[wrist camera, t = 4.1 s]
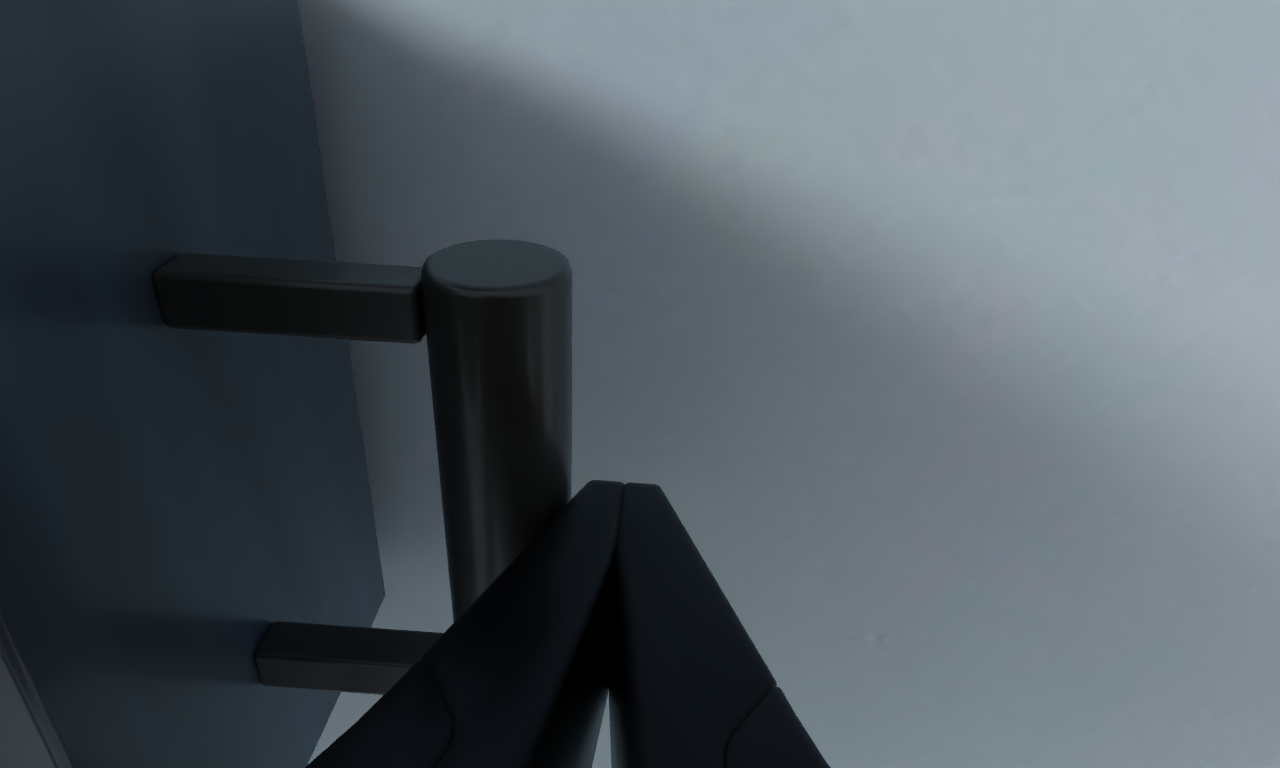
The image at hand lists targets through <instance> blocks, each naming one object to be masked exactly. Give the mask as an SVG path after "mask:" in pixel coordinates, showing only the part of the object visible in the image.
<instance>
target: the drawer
mask: <svg viewBox="0 0 1280 768" xmlns="http://www.w3.org/2000/svg"><path fill="white" fill-rule="evenodd" d="M425 334H426V336H427V346H428V357H429V368H430V378H431V389H432V399H433V410H434V421H435V431H436V442H437V452H438V463H439V473H440V484H441V495H442V505H443V516H444V526H445V537H446V548H447V558H448V569H449V579H450V590H451V600H452V611H453V622H455V621H456V620H457V619H458V618H459V617H460V616H461V615H462V614H463V613H464V612H465V611H466V610H467V609H468V608H469V607H470V606H471V604H472V603H473V602H474V601H475V600H476V599H477V598H478V597H479V596H480V595H481V594H482V593H483V592H484V591H485V590H486V589H487V588H488V587H489V586H490V585H491V584H492V582H493V581H494V580H495V579H496V578H497V577H498V576H499V575H500V574H501V573H502V572H503V571H504V570H505V569H506V568H507V567H508V566H509V565H510V564H511V563H512V562H513V561H514V559H515V558H516V557H517V556H518V555H519V554H520V553H521V552H522V551H523V550H524V549H525V548H526V547H527V546H528V545H529V544H530V543H531V542H532V541H533V540H534V539H535V537H536V536H537V535H538V534H539V533H540V532H541V531H542V530H543V529H544V528H545V527H546V526H547V525H548V524H549V523H550V522H551V521H552V520H553V519H554V518H555V517H556V515H557V514H558V513H559V512H560V511H561V510H562V509H563V508H564V507H565V506H566V505H567V504H568V503H569V502H570V501H571V463H572V268H571V266H570V264H569V262H568V260H567V258H566V257H565V256H564V255H563V254H561V253H560V252H558V251H556V250H554V249H552V248H550V247H547V246H543V245H540V244H535V243H530V242H525V241H518V240H502V239H501V240H479V241H472V242H466V243H461V244H457V245H453V246H450V247H447V248H444V249H442V250H439V251H437V252H435V253H433V254H432V255H431V256H429V257H428V258H427V259H426V261H425V262H424V264H423V267H408V266H392V265H375V264H359V263H343V262H336V259H335V252H334V246H333V239H332V232H331V225H330V219H329V212H328V205H327V198H326V192H325V185H324V178H323V171H322V165H321V158H320V151H319V144H318V138H317V131H316V124H315V118H314V111H313V104H312V97H311V91H310V84H309V77H308V70H307V64H306V57H305V50H304V43H303V37H302V30H301V23H300V16H299V10H298V3H297V0H0V768H305V767H306V766H307V764H308V762H309V760H310V758H311V756H312V754H313V751H314V749H315V747H316V745H317V743H318V740H319V738H320V736H321V734H322V732H323V730H324V727H325V725H326V723H327V721H328V719H329V717H330V714H331V712H332V710H333V708H334V706H335V703H336V701H337V699H338V697H339V695H340V693H341V692H352V693H365V694H379V695H384V694H385V693H387V692H388V691H389V690H390V689H391V688H392V687H393V686H394V685H395V684H396V683H397V682H398V680H399V679H400V678H401V677H402V676H403V675H404V674H405V673H406V672H407V671H408V670H409V669H410V668H411V667H412V666H413V665H414V664H415V663H416V662H417V661H418V660H423V659H422V657H423V655H424V654H425V653H426V652H427V651H428V650H429V648H430V647H431V646H432V645H433V644H434V643H435V642H436V641H437V640H438V639H439V638H440V637H441V636H442V635H443V634H444V633H435V632H421V631H408V630H394V629H380V628H370V627H371V625H372V623H373V621H374V619H375V616H376V614H377V612H378V610H379V608H380V606H381V603H382V601H383V599H384V597H385V590H384V583H383V576H382V569H381V563H380V556H379V549H378V542H377V536H376V529H375V522H374V515H373V509H372V502H371V495H370V488H369V482H368V475H367V468H366V461H365V455H364V448H363V441H362V434H361V428H360V421H359V414H358V407H357V401H356V394H355V387H354V381H353V374H352V367H351V360H350V354H349V347H348V340H347V339H350V340H366V341H381V342H397V343H412V344H414V343H418V342H421V340H422V339H423V337H424V336H425Z"/></svg>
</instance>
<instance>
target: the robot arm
mask: <svg viewBox="0 0 1280 768" xmlns="http://www.w3.org/2000/svg"><path fill="white" fill-rule="evenodd" d="M422 659H423V660H418V661H417V662H416V663H415V664H414V665H413V666H412V667H411V668H410V669H409V670H408V671H407V672H406V673H405V674H404V675H403V676H402V677H401V678H400V679H399V680H398V682H397V683H396V684H395V685H394V686H393V687H392V688H391V689H390V690H389V691H388V692H387V693H385V694H384V695H383V696H382V697H381V698H380V699H379V700H378V701H377V702H376V703H375V704H374V705H373V706H372V707H371V708H370V709H369V710H368V711H367V712H366V713H365V714H364V715H363V716H362V717H361V718H360V719H359V720H358V721H357V722H356V723H355V724H354V725H353V726H351V727H350V728H349V729H348V730H347V731H346V732H345V733H344V734H342V735H341V736H340V737H339V738H338V739H337V740H336V741H335V742H333V743H332V744H331V745H330V746H329V747H328V748H327V749H326V750H324V751H323V752H322V753H321V754H320V755H319V756H318V757H317V758H315V759H314V760H313V761H312V762H311V763H310V764H309V765H307V766H306V767H305V768H592V763H593V759H594V754H595V750H596V745H597V741H598V736H599V732H600V727H601V723H602V718H603V714H604V709H605V705H606V700H607V695H608V690H609V710H610V737H611V765H612V768H830V766H829V765H828V764H827V762H826V761H825V759H824V758H823V756H822V755H821V753H820V752H819V750H818V749H817V747H816V745H815V744H814V742H813V741H812V739H811V738H810V736H809V735H808V733H807V731H806V730H805V728H804V727H803V725H802V724H801V722H800V721H799V719H798V717H797V716H796V714H795V712H794V711H793V709H792V707H791V706H790V704H789V702H788V700H787V699H786V697H785V695H784V694H783V692H782V690H781V689H780V688H779V687H776V681H775V679H774V677H773V676H772V674H771V672H770V671H769V669H768V667H767V666H766V664H765V662H764V661H763V659H762V657H761V656H760V654H759V652H758V651H757V649H756V647H755V645H754V644H753V642H752V640H751V639H750V637H749V635H748V634H747V632H746V630H745V629H744V627H743V625H742V624H741V622H740V620H739V619H738V617H737V615H736V613H735V612H734V610H733V608H732V607H731V605H730V603H729V602H728V600H727V598H726V597H725V595H724V593H723V592H722V590H721V588H720V587H719V585H718V583H717V581H716V580H715V578H714V576H713V575H712V573H711V571H710V570H709V568H708V566H707V565H706V563H705V561H704V560H703V558H702V556H701V555H700V553H699V551H698V550H697V548H696V546H695V544H694V543H693V541H692V539H691V538H690V536H689V534H688V533H687V531H686V529H685V528H684V526H683V524H682V523H681V521H680V519H679V518H678V516H677V514H676V512H675V511H674V509H673V507H672V506H671V504H670V502H669V501H668V499H667V497H666V496H665V494H664V492H663V491H662V489H661V488H660V487H659V486H658V485H656V484H643V483H626V484H625V485H624V484H623V483H622V482H615V481H601V480H592V481H590V482H588V483H587V484H586V485H585V486H584V487H583V488H582V489H581V490H580V491H579V492H578V493H577V495H576V496H575V497H574V498H573V499H572V500H571V501H570V502H569V503H568V504H567V505H566V506H565V507H564V508H563V509H562V510H561V511H560V512H559V513H558V514H557V515H556V517H555V518H554V519H553V520H552V521H551V522H550V523H549V524H548V525H547V526H546V527H545V528H544V529H543V530H542V531H541V532H540V533H539V534H538V535H537V536H536V537H535V539H534V540H533V541H532V542H531V543H530V544H529V545H528V546H527V547H526V548H525V549H524V550H523V551H522V552H521V553H520V554H519V555H518V556H517V557H516V558H515V559H514V561H513V562H512V563H511V564H510V565H509V566H508V567H507V568H506V569H505V570H504V571H503V572H502V573H501V574H500V575H499V576H498V577H497V578H496V579H495V580H494V581H493V582H492V584H491V585H490V586H489V587H488V588H487V589H486V590H485V591H484V592H483V593H482V594H481V595H480V596H479V597H478V598H477V599H476V600H475V601H474V602H473V603H472V604H471V606H470V607H469V608H468V609H467V610H466V611H465V612H464V613H463V614H462V615H461V616H460V617H459V618H458V619H457V620H456V621H455V622H454V623H453V624H452V625H451V626H450V628H449V629H448V630H447V631H446V632H445V633H444V634H443V635H442V636H441V637H440V638H439V639H438V640H437V641H436V642H435V643H434V644H433V645H432V646H431V647H430V648H429V650H428V651H427V652H426V653H425V654H424V655H423V657H422Z"/></svg>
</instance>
